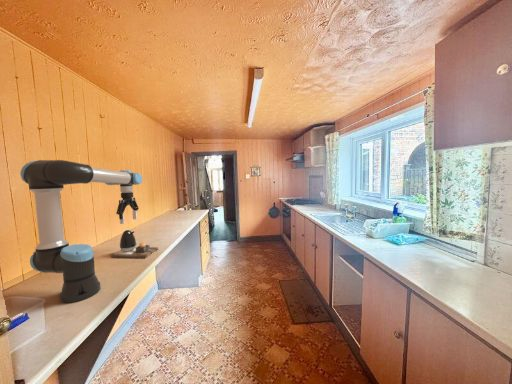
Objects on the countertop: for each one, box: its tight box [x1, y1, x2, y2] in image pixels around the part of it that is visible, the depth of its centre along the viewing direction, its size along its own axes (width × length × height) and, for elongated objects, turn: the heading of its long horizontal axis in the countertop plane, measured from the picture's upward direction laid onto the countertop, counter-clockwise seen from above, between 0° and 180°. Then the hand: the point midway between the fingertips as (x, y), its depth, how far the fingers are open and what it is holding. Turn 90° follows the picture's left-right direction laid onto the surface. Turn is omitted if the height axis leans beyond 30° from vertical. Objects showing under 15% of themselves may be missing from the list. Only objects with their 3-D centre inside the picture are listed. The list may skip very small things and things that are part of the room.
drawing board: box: [110, 244, 159, 259], centre depth 151 cm, size 16×25×6 cm, turn 85°
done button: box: [138, 242, 147, 248], centre depth 150 cm, size 4×4×3 cm
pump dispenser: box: [119, 229, 137, 252], centre depth 151 cm, size 10×10×15 cm
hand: (128, 221), depth 149 cm, fingers open, 13 cm apart
